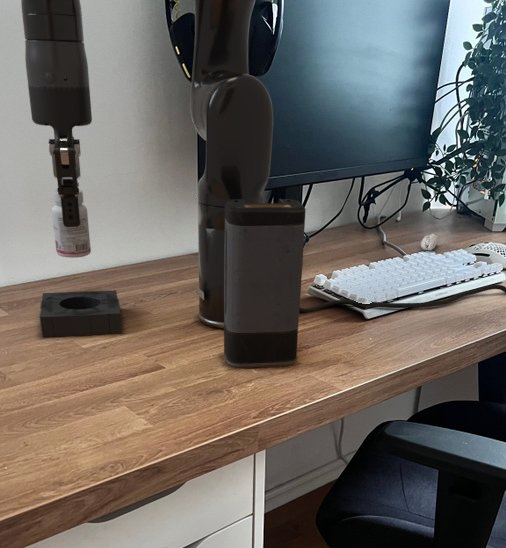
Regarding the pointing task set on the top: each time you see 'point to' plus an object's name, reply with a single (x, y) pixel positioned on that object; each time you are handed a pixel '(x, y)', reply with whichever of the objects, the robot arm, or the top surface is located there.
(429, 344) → the top surface
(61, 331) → the socket plate
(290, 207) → the electronic device
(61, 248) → the pill bottle
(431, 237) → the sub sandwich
